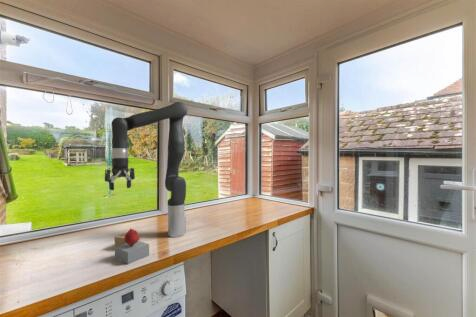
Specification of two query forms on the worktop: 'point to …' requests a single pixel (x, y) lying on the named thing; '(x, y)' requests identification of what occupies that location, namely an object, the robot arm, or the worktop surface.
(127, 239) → the onion
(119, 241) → the walnut block
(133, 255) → the grey block
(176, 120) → the robot arm
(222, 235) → the worktop surface
